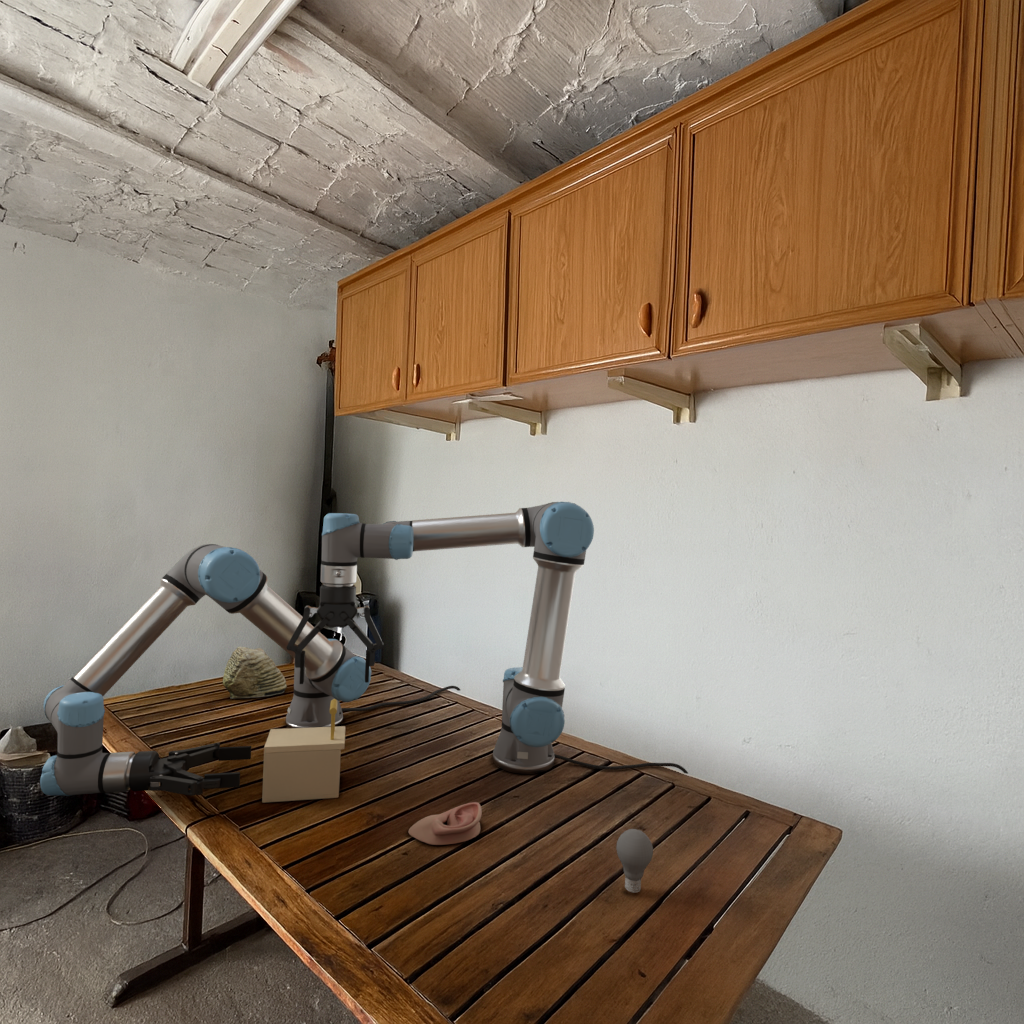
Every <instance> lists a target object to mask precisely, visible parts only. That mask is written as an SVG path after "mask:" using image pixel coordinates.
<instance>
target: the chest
mask: <svg viewBox="0 0 1024 1024" xmlns="http://www.w3.org/2000/svg"><path fill="white" fill-rule="evenodd" d="M341 750H342V749H337V750H317V751H296V752H276V753H264V752H263V768H262V769H263V772H262V796H261V798H262V799H261V803H279V802H291V801H307V800H321V799H323V800H324V799H336V798H339V795H340V781H341V780H340V778H341V754H342V753H341V752H342V751H341Z"/></svg>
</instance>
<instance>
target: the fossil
mask: <svg viewBox="0 0 1024 1024" xmlns="http://www.w3.org/2000/svg"><path fill="white" fill-rule="evenodd" d="M222 676H223V677H222V685H223V687H224V688H225V690H226V691H228V693H229V698H230V699H250V698H264V697H271V696H275V695H281V694H284V693H285V691H286V689H287V687H288V686H287V680H286V678H285V676H284V674H283V673H282V672H281V669H279V668H278V667H277V665H276V663H275V662H274V660H273V659H272V658H271V657H270V656H269V655H268V654H267V653H266V652H265V650H264V649H263V648H260V647H258V648H251V647H247V646H246V647H245V646H238V647H237V648H236V649H235V650H233V651H232V653H231V656H230V657H229V659H228V660H227V663H226V666H225V668H224V671H223V675H222Z"/></svg>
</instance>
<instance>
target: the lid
mask: <svg viewBox="0 0 1024 1024" xmlns="http://www.w3.org/2000/svg"><path fill="white" fill-rule="evenodd" d="M337 705H338V701H337V700H336V699H333V700H331V703H330V714H331V727H314V728H271V729H270V730H269V733H268V736H267V738H266V740H265V743H264V747H263V754H264V753H276V752H296V751H317V750H337V749H341V750H345V747H346V746H345V744H346V726H345V725H341V726H340V725H339V726H337V727H335V714H336V713H337Z"/></svg>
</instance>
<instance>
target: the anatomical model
mask: <svg viewBox="0 0 1024 1024" xmlns="http://www.w3.org/2000/svg"><path fill="white" fill-rule="evenodd" d="M482 814H483V809H482V806H481V804H480V803H479V802H477V801H471V802H467V803H464V804H460V805H458V806H456V807H453V808H451V809H448V810H446V811H443V812H442V813H438V814H431V815H428V816H424V817H423V818H421V819H419V820H418V821H416V822H415V823H413V825H412V826H410V828H409V829H408V830H407V831H408V834H409V836H411V837H412V838H414V839H416V840H418V841H419V842H422V843H425V844H428V845H431V846H443V845H454V844H459V843H463V842H466V841H469V840H472V839H474V838H476V837H477V836H479V834H480V832H481V823H480V821H481V819H482V816H483V815H482Z"/></svg>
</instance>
